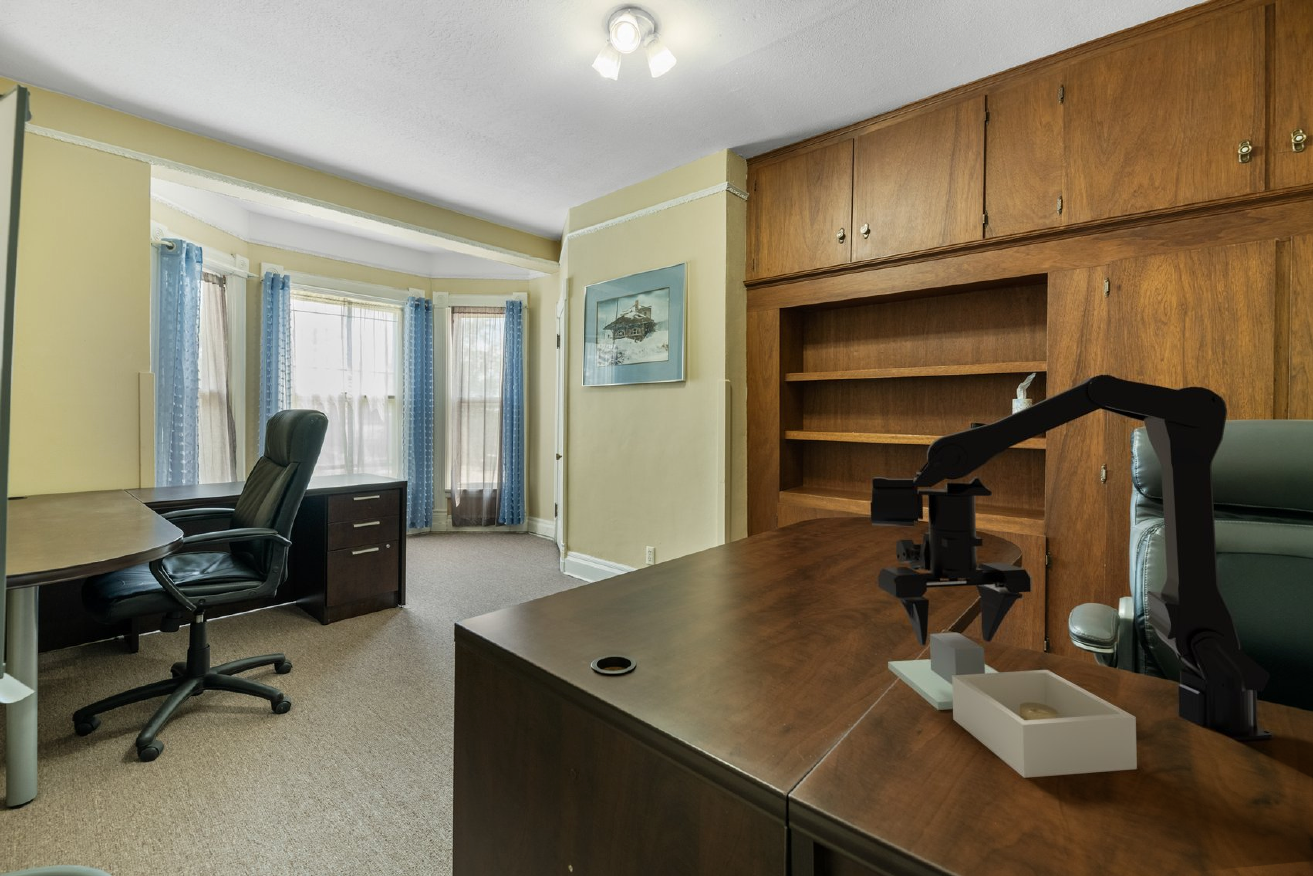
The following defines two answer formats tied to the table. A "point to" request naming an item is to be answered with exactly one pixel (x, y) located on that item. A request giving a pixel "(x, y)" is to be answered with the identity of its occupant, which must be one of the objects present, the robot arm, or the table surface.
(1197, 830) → the table surface
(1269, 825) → the table surface
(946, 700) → the lid
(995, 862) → the table surface
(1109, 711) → the box
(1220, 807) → the table surface
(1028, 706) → the brass weight
